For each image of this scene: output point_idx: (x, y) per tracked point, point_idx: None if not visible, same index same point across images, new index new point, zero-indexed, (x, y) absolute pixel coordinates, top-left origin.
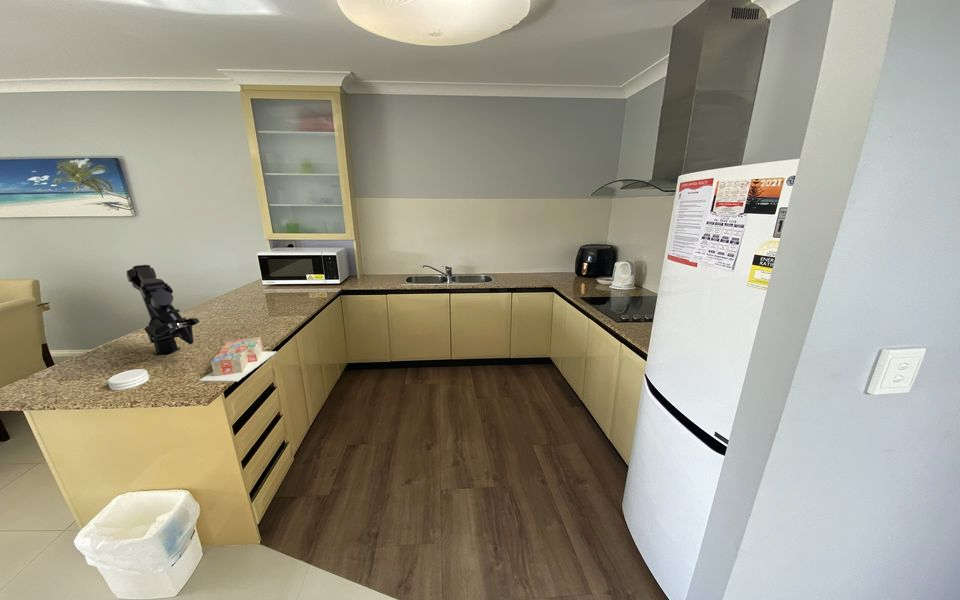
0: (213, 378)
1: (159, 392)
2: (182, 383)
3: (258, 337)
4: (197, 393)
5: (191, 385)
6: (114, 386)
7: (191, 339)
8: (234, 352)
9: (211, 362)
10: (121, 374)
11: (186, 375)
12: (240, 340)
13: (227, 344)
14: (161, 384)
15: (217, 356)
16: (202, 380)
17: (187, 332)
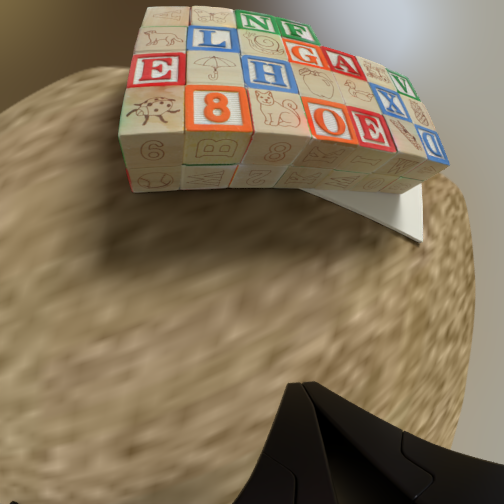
0: (412, 194)
1: (457, 340)
2: (426, 300)
3: (155, 10)
4: (462, 218)
5: (437, 257)
6: None
7: (332, 399)
8: (361, 82)
9: (448, 165)
10: None
11: (373, 328)
12: (152, 65)
13: (216, 115)
14: (419, 379)
15: (411, 144)
16: (422, 228)
17: (446, 454)
